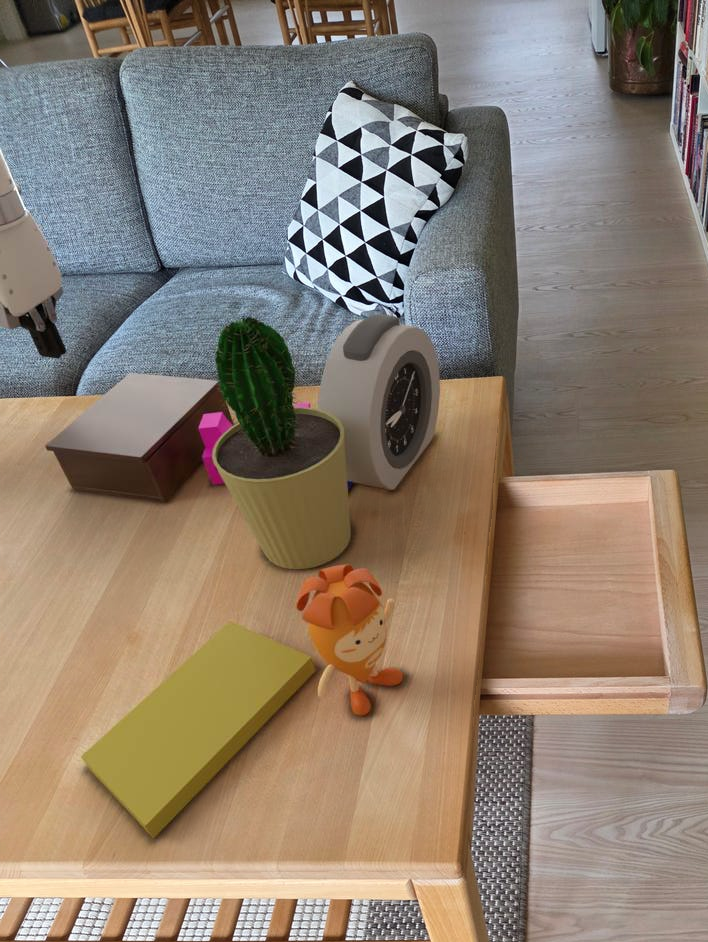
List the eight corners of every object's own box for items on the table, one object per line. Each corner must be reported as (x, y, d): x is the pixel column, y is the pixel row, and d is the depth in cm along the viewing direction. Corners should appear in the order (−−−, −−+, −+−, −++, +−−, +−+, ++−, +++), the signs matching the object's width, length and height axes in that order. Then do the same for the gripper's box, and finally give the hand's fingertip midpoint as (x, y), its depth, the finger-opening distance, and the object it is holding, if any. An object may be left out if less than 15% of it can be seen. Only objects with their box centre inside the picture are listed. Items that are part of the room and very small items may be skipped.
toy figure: (351, 739, 88) (318, 636, 77) (299, 705, 92) (260, 602, 81) (428, 668, 94) (408, 562, 83) (376, 638, 98) (350, 534, 87)
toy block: (212, 484, 122) (194, 438, 117) (220, 459, 126) (203, 414, 121) (317, 473, 121) (303, 426, 116) (322, 448, 125) (309, 402, 120)
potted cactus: (334, 590, 104) (267, 358, 83) (225, 569, 109) (135, 344, 87) (387, 513, 114) (339, 287, 92) (285, 496, 118) (217, 278, 97)
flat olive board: (235, 634, 100) (70, 786, 87) (230, 620, 99) (61, 774, 85) (315, 670, 95) (153, 838, 82) (311, 656, 93) (145, 826, 80)
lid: (143, 462, 114) (141, 457, 114) (47, 450, 119) (44, 445, 118) (220, 385, 128) (219, 380, 127) (132, 377, 132) (130, 372, 131)
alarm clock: (380, 508, 115) (357, 371, 100) (330, 497, 117) (301, 361, 102) (444, 422, 128) (432, 291, 114) (398, 414, 130) (381, 284, 116)
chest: (165, 503, 120) (147, 461, 115) (73, 490, 124) (52, 449, 119) (234, 426, 133) (221, 385, 128) (148, 417, 137) (132, 377, 132)
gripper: (6, 185, 108) (65, 326, 121) (-82, 231, 98) (-7, 379, 111) (55, 188, 106) (110, 331, 119) (-30, 235, 96) (41, 386, 109)
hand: (53, 354), depth 115 cm, fingers closed
